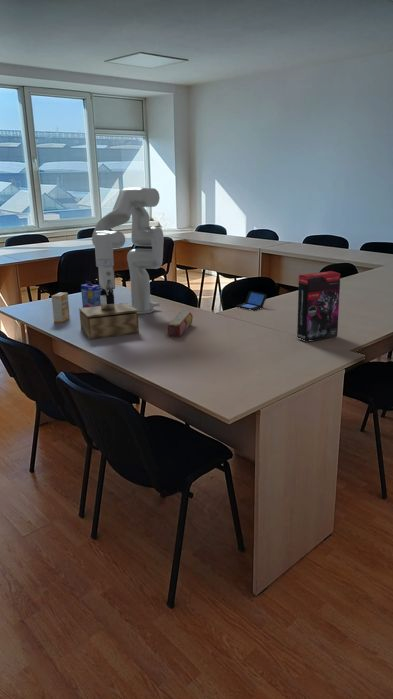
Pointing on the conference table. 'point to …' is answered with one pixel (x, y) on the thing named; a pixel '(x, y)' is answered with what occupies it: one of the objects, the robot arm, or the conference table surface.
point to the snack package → (179, 324)
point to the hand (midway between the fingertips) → (107, 301)
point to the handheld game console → (253, 301)
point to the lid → (98, 312)
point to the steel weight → (104, 304)
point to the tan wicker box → (109, 325)
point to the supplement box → (60, 307)
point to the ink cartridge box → (90, 295)
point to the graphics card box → (318, 305)
